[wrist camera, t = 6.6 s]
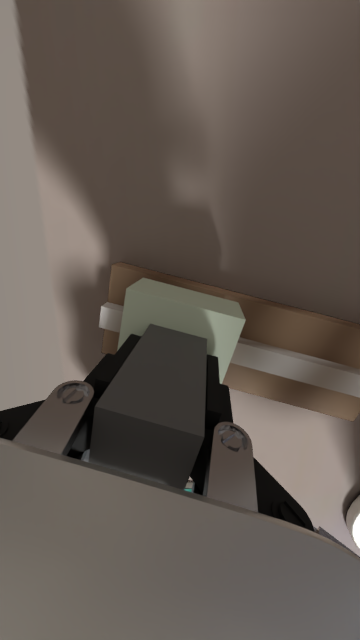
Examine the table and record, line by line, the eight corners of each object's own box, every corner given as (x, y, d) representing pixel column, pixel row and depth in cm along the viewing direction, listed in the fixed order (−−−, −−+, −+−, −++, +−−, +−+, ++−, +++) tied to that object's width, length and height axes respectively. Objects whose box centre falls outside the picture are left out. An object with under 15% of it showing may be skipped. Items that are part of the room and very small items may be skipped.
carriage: (238, 302, 14) (283, 409, 5) (207, 392, 16) (203, 560, 8) (143, 277, 14) (41, 342, 5) (127, 370, 16) (41, 511, 8)
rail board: (391, 332, 16) (422, 349, 14) (342, 407, 18) (361, 432, 16) (120, 262, 16) (105, 266, 14) (109, 344, 19) (95, 359, 17)
